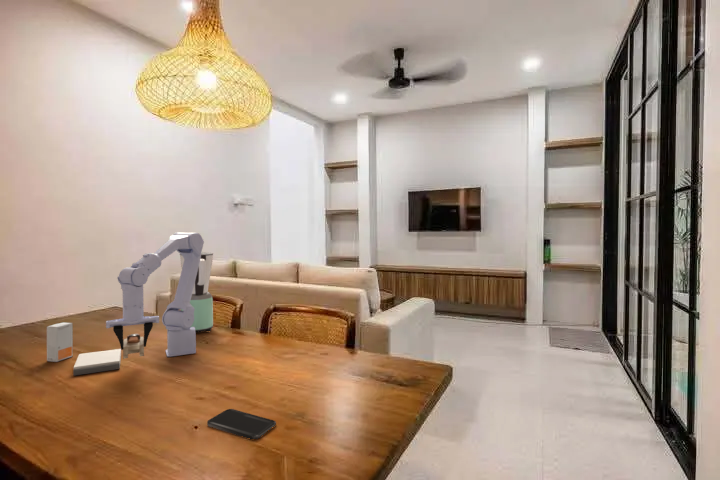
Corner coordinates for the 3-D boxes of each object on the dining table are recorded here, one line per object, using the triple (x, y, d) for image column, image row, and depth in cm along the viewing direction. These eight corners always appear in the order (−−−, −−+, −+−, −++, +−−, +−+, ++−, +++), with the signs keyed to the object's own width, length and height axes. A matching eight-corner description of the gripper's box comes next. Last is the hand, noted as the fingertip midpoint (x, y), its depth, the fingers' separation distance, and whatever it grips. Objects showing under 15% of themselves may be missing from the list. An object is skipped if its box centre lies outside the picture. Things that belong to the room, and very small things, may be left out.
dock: (121, 355, 138) (120, 348, 138) (119, 369, 125) (119, 361, 125) (79, 361, 132) (79, 353, 132) (73, 376, 119) (73, 368, 119)
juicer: (176, 329, 173) (175, 250, 172) (207, 324, 181) (207, 250, 180) (186, 339, 158) (186, 253, 157) (220, 334, 166) (220, 252, 165)
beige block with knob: (143, 346, 130) (143, 336, 129) (144, 355, 121) (143, 344, 121) (124, 349, 127) (124, 338, 127) (123, 358, 118) (123, 347, 118)
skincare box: (56, 362, 130) (56, 327, 130) (46, 361, 131) (45, 326, 131) (73, 356, 136) (73, 322, 136) (63, 355, 137) (62, 322, 137)
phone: (255, 437, 84) (205, 421, 91) (255, 442, 84) (205, 426, 91) (278, 421, 91) (229, 407, 98) (278, 426, 91) (229, 412, 98)
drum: (140, 339, 126) (140, 332, 126) (140, 342, 123) (140, 335, 123) (127, 341, 124) (127, 334, 124) (127, 344, 121) (126, 337, 121)
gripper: (105, 309, 116) (105, 354, 117) (159, 305, 123) (160, 347, 124) (106, 305, 122) (107, 348, 123) (158, 301, 130) (158, 341, 130)
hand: (133, 347), depth 124 cm, fingers closed on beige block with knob, 5 cm apart
